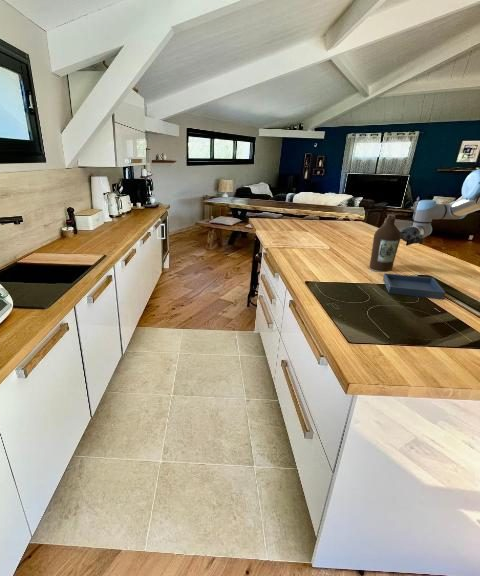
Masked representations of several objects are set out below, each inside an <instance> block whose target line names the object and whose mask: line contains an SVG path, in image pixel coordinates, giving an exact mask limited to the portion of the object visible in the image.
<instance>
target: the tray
mask: <svg viewBox="0 0 480 576" xmlns="http://www.w3.org/2000/svg"><path fill="white" fill-rule="evenodd" d="M382 280H383V283H384V286H385V288H386V291H387V292H388V293H387V294H391V295H399V296H400V295H401V296H409V297H416V298H417V297H418V298H427V299H435V300H444V299H445V296H446V291H445V290H444V289H443V287H442V286H441V285H440V284H439V282H437V280H436V279H435V278H434V277H429V276H419V275H418V276H417V275H406V274H396V273H395V274H394V273H385V272H384V273H383V278H382Z"/></svg>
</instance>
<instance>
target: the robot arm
mask: <svg viewBox="0 0 480 576" xmlns="http://www.w3.org/2000/svg"><path fill="white" fill-rule="evenodd" d="M461 197H462V199H460V200H457V201H455V202H452V203H437V200H434V199H422V200H418V203H417V205H416V210H415V213H414V219H413V222H412V225H410V226H407V227H405V228H403V229H402V230H401V231H400V234H401V239H400V240H402V241H403V242H405V246H411V245H413V244H414V245H415V244H420V245H422V244H423V243H424V238H426V237H428V236H430V235H431V234H432V232H433V227H432V222H433V220H461V219H464V218H465V217H466V216H467V215H468V214H471V213H474V212H476V211H480V168H478V169H475V170H472V171H471V172H470V173H469V174H468V175H467V176H466V178H465V180H464V181H463V184H462V187H461Z"/></svg>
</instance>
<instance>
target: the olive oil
mask: <svg viewBox="0 0 480 576" xmlns="http://www.w3.org/2000/svg"><path fill="white" fill-rule="evenodd" d="M395 221H396V214H387V217H386V220H385V223H384V224H383V225H381V226H380V227H379V228H377V229H376V230H375V232H374V234H373V240H372V246H371V247H372V248H371V254H370V259H369V268H370V269H372V270H374V271H381V272H389V271H392V270H393V266H394V263H395V259H396V256H397V253H398V248H399V246H400V242H401V240H402V239H401V234H400V232H401V231H400V229H399V228H398V227H397V225H395V223H396V222H395Z"/></svg>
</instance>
